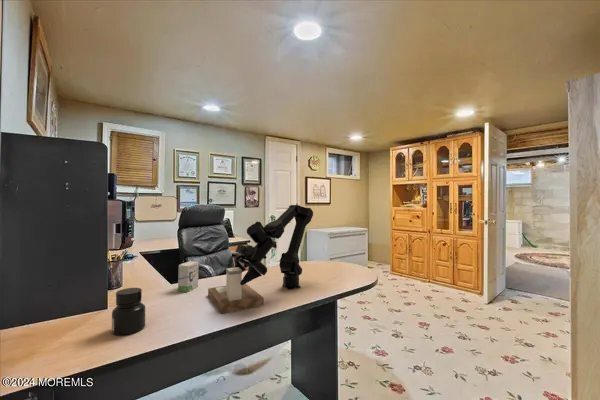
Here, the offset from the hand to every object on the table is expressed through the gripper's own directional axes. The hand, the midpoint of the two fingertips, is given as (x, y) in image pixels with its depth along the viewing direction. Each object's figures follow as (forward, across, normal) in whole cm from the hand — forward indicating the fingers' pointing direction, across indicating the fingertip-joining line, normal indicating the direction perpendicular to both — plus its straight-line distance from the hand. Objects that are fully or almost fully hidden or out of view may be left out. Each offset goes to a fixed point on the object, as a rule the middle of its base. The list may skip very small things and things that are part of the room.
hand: (235, 281), depth 107 cm
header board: (+5, -6, +8) cm, 11 cm away
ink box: (+12, -32, +1) cm, 34 cm away
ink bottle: (+31, -2, -18) cm, 36 cm away
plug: (+7, 0, +6) cm, 9 cm away
